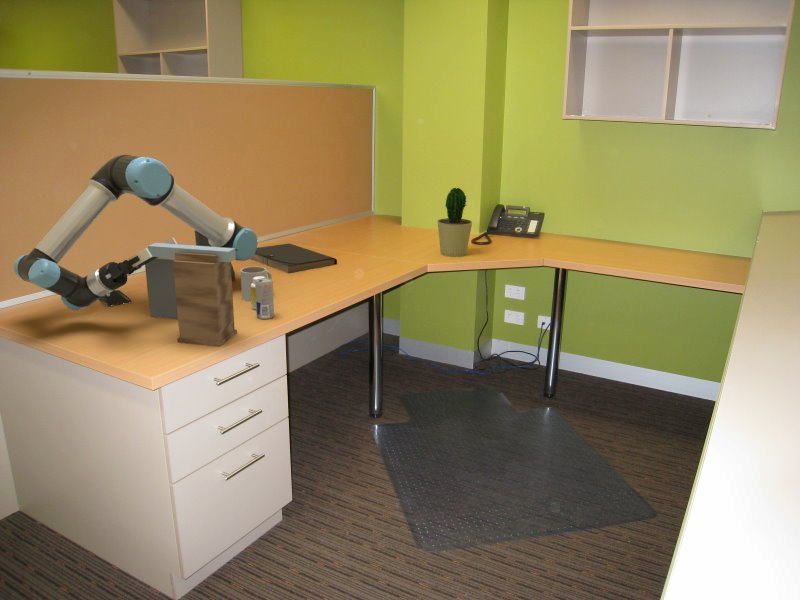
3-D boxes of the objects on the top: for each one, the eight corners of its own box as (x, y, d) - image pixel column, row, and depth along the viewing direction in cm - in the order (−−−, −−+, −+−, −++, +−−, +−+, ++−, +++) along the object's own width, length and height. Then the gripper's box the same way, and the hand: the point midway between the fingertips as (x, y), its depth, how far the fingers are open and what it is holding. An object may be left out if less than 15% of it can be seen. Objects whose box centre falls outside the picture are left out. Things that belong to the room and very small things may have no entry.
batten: (156, 253, 185) (155, 242, 184) (235, 258, 181) (235, 248, 180) (148, 256, 181) (147, 245, 181) (229, 262, 177) (228, 251, 176)
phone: (118, 289, 227) (132, 300, 216) (119, 292, 228) (132, 303, 216) (94, 293, 223) (107, 304, 211) (95, 296, 223) (107, 307, 212)
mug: (250, 303, 218) (249, 274, 215) (237, 297, 224) (235, 269, 221) (281, 296, 227) (280, 268, 224) (267, 290, 233) (266, 263, 229)
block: (167, 306, 213) (161, 248, 207) (201, 309, 211) (196, 251, 205) (150, 316, 204) (144, 256, 198) (185, 319, 202) (180, 258, 196)
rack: (196, 329, 194) (189, 245, 186) (237, 332, 192) (232, 248, 184) (177, 342, 184) (169, 254, 176) (220, 346, 182) (214, 257, 174)
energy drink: (261, 313, 209) (260, 277, 205) (277, 315, 208) (275, 278, 204) (253, 318, 204) (251, 281, 201) (269, 320, 203) (267, 283, 199)
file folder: (244, 249, 276) (292, 242, 292) (244, 258, 277) (292, 251, 293) (287, 264, 253) (337, 256, 269) (287, 275, 254) (337, 266, 270)
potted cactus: (438, 258, 283) (441, 188, 274) (433, 249, 298) (436, 183, 288) (473, 258, 284) (477, 189, 275) (467, 249, 299) (470, 184, 290)
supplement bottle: (260, 311, 211) (258, 281, 208) (248, 308, 214) (246, 278, 211) (272, 307, 215) (271, 277, 212) (261, 304, 218) (259, 274, 215)
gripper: (139, 278, 201) (192, 248, 194) (87, 302, 177) (144, 269, 171) (126, 257, 199) (178, 226, 193) (71, 278, 176) (128, 244, 169)
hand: (162, 246), depth 182 cm, fingers open, 13 cm apart
